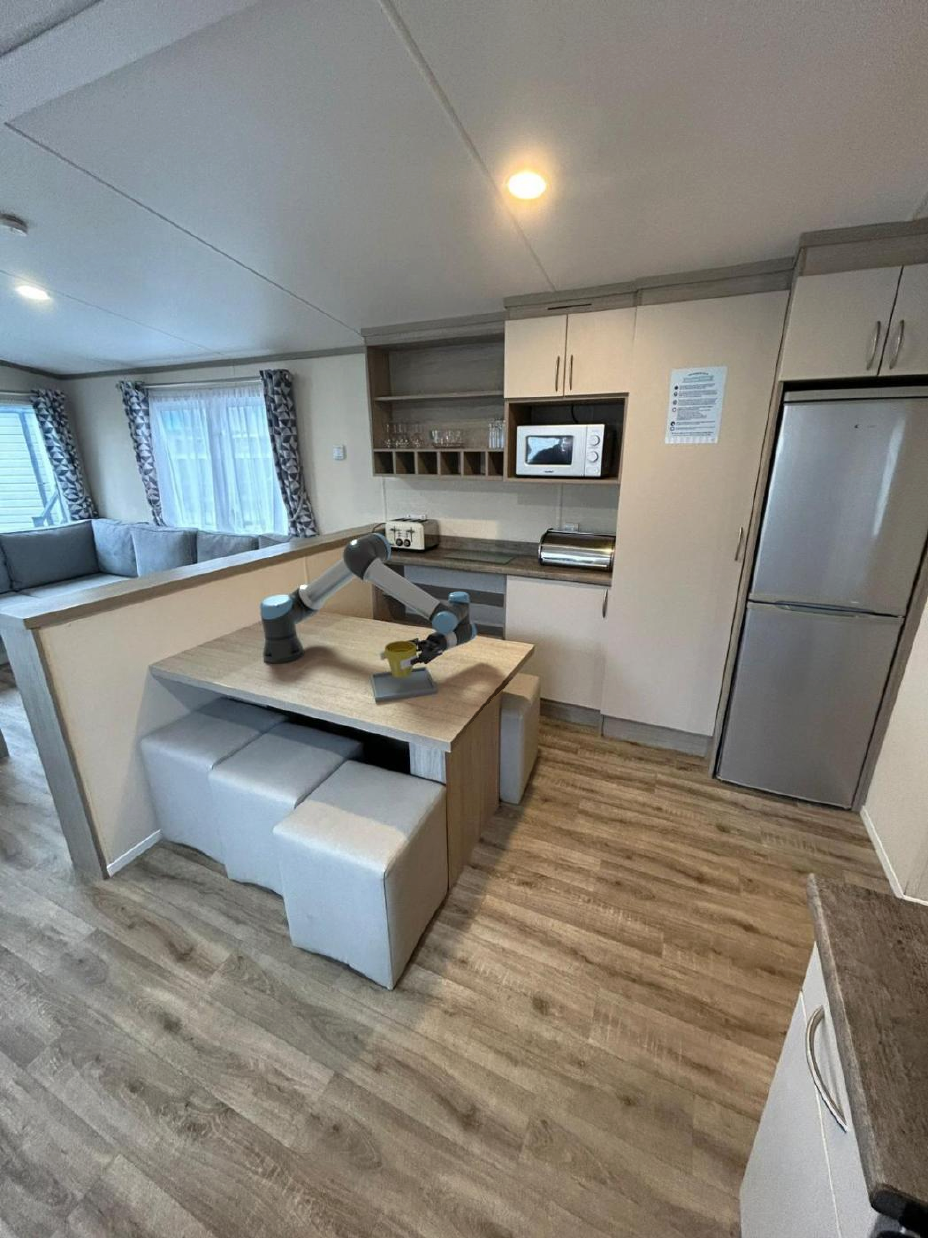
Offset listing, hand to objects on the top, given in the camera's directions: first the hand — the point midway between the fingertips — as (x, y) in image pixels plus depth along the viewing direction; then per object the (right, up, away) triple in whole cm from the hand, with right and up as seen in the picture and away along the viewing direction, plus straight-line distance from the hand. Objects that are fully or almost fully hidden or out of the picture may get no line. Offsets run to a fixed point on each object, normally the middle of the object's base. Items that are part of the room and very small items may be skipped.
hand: (390, 660), depth 158 cm
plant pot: (+3, -5, +5) cm, 7 cm away
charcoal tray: (+3, -9, +6) cm, 12 cm away
